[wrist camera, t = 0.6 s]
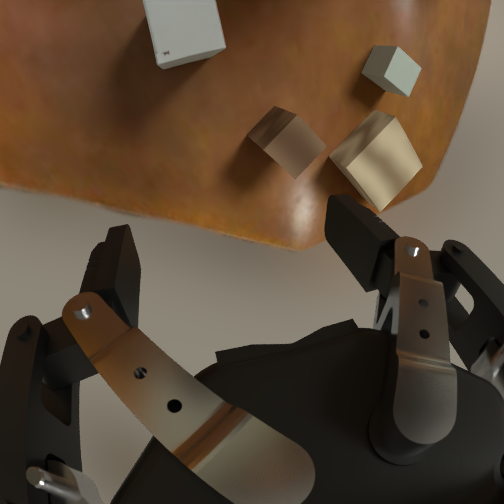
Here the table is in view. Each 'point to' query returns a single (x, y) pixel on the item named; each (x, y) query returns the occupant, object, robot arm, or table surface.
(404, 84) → the grey cube
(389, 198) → the oak block
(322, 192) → the table surface
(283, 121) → the walnut block
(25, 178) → the table surface
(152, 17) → the small box
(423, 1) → the table surface
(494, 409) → the robot arm
